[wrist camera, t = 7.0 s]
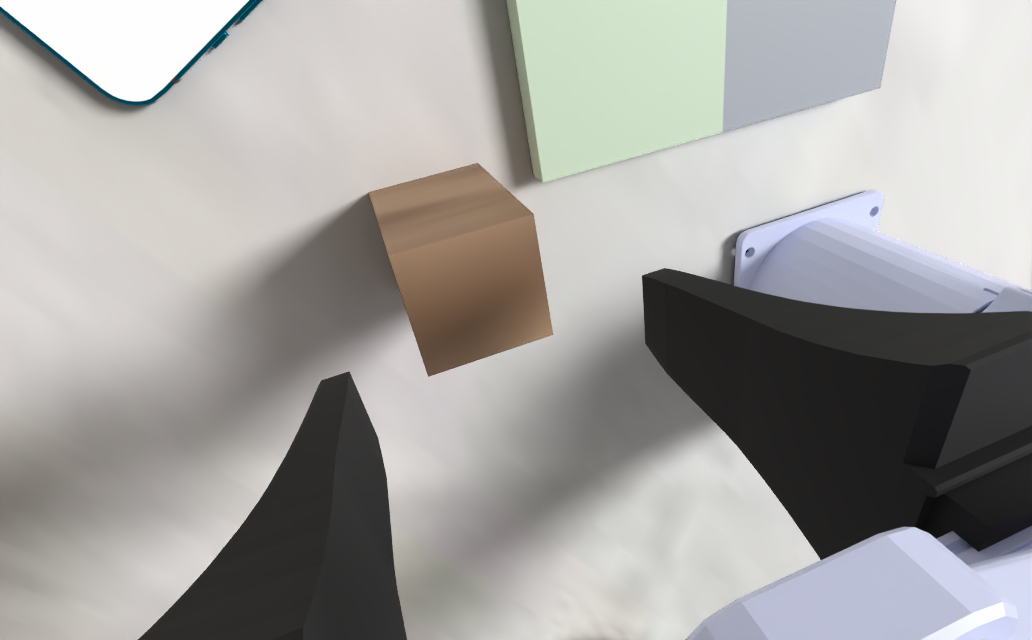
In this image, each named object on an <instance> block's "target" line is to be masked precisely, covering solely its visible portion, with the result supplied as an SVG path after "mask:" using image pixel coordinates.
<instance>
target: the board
mask: <svg viewBox="0 0 1032 640" xmlns="http://www.w3.org/2000/svg"><path fill="white" fill-rule="evenodd" d="M506 2H507V8H508V15H509V21H510V27H511V34H512V40H513V47H514V53H515V59H516V66H517V72H518V79H519V85H520V91H521V98H522V104H523V111H524V117H525V124H526V130H527V136H528V143H529V149H530V156H531V162H532V168H533V175H534V177H536V178H537V179H538V180H540V181H541V182H543V183H544V182H548V181H551V180H555V179H559V178H562V177H566V176H569V175H573V174H576V173H580V172H583V171H587V170H590V169H594V168H598V167H601V166H605V165H608V164H612V163H615V162H619V161H622V160H626V159H630V158H633V157H637V156H640V155H644V154H647V153H651V152H654V151H658V150H662V149H665V148H669V147H672V146H676V145H679V144H683V143H686V142H690V141H694V140H697V139H701V138H704V137H708V136H711V135H715V134H718V133H722V132H726V131H729V130H733V129H736V128H740V127H743V126H747V125H750V124H754V123H758V122H761V121H765V120H768V119H772V118H775V117H779V116H782V115H786V114H790V113H793V112H797V111H800V110H804V109H807V108H811V107H814V106H818V105H822V104H825V103H829V102H832V101H836V100H839V99H843V98H846V97H850V96H854V95H857V94H861V93H864V92H868V91H871V90H875V89H878V88H880V86H881V81H882V75H883V70H884V64H885V59H886V53H887V48H888V43H889V37H890V32H891V26H892V21H893V15H894V10H895V4H896V0H506Z"/></svg>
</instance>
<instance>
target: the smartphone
mask: <svg viewBox="0 0 1032 640" xmlns="http://www.w3.org/2000/svg"><path fill="white" fill-rule="evenodd" d="M263 1H264V0H0V12H1V13H2V14H3V15H5V16H6V17H7V18H8V19H10V20H11V21H12V22H13V23H15V24H16V25H17V26H18V27H20V28H21V29H22V30H23V31H25V32H26V33H27V34H28V35H30V36H31V37H32V38H33V39H35V40H36V41H37V42H38V43H40V44H41V45H42V46H43V47H45V48H46V49H47V50H48V51H50V52H51V53H52V54H53V55H54V56H56V57H57V58H58V59H59V60H61V61H62V62H63V63H64V64H66V65H67V66H68V67H69V68H71V69H72V70H73V71H74V72H76V73H77V74H78V75H79V76H81V77H82V78H83V79H84V80H86V81H87V82H88V83H89V84H91V85H92V86H93V87H94V88H96V89H97V90H98V91H99V92H101V93H102V94H104V95H105V96H107V97H108V98H110V99H112V100H114V101H116V102H119V103H122V104H126V105H133V106H142V105H148V104H151V103H154V102H156V101H158V100H159V99H161V98H162V97H163V96H164V95H165V94H167V93H168V92H169V91H170V90H171V89H172V88H173V87H174V86H175V85H176V84H177V83H178V82H179V81H180V80H181V79H182V78H183V77H184V76H185V75H186V74H187V73H188V72H189V71H190V70H191V69H192V68H193V67H194V66H195V65H196V64H197V63H198V62H199V61H200V60H201V59H202V58H203V57H204V56H205V55H206V54H207V53H208V52H209V50H210V49H211V48H212V47H213V48H214V49H216V48H217V47H218V46H219V45H220V44H221V43H222V42H223V41H224V40H225V39H226V38H227V37H228V36H229V35H228V34H227V32H228V31H229V30H230V29H231V28H232V27H233V26H234V25H235V24H236V23H237V22H238V21H239V20H240V21H241V22H243V21H244V20H245V19H246V18H247V17H248V16H249V15H250V14H251V13H252V12H253V11H254V10H255V9H256V8H257V7H258V6H259V5H260V4H261V3H262V2H263Z"/></svg>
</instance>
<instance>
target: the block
mask: <svg viewBox="0 0 1032 640" xmlns="http://www.w3.org/2000/svg"><path fill="white" fill-rule="evenodd" d="M369 194H370V198H371V201H372V204H373V208H374V211H375V214H376V217H377V221H378V224H379V227H380V230H381V234H382V237H383V240H384V244H385V247H386V250H387V253H388V257H389V260H390V263H391V266H392V269H393V272H394V275H395V278H396V281H397V284H398V287H399V290H400V293H401V296H402V299H403V302H404V305H405V308H406V311H407V314H408V317H409V320H410V323H411V326H412V329H413V332H414V335H415V338H416V341H417V344H418V347H419V350H420V353H421V356H422V359H423V362H424V365H425V368H426V371H427V374H428V377H429V376H432V375H435V374H438V373H441V372H444V371H447V370H450V369H453V368H456V367H458V366H461V365H464V364H467V363H470V362H473V361H476V360H479V359H482V358H485V357H488V356H491V355H494V354H497V353H500V352H503V351H506V350H509V349H512V348H515V347H518V346H521V345H524V344H527V343H530V342H533V341H536V340H539V339H542V338H545V337H548V336H551V335H553V331H552V325H551V319H550V313H549V307H548V300H547V294H546V288H545V282H544V276H543V270H542V263H541V257H540V251H539V245H538V239H537V233H536V226H535V220H534V214H533V213H532V212H531V211H530V210H529V209H527V208H526V207H525V206H524V205H523V204H522V203H521V202H520V201H519V200H518V199H516V198H515V197H514V196H513V195H512V194H511V193H510V192H509V191H508V190H507V189H506V188H504V187H503V186H502V185H501V184H500V183H499V182H498V181H497V180H496V179H495V178H493V177H492V176H491V175H490V174H489V173H488V172H487V171H486V170H485V169H484V168H482V167H481V166H480V165H479V164H478V163H476V164H472V165H469V166H465V167H461V168H457V169H454V170H450V171H446V172H443V173H439V174H435V175H431V176H428V177H424V178H420V179H416V180H413V181H409V182H405V183H401V184H398V185H394V186H390V187H387V188H383V189H379V190H375V191H372V192H369Z"/></svg>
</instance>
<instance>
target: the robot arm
mask: <svg viewBox="0 0 1032 640" xmlns="http://www.w3.org/2000/svg"><path fill="white" fill-rule="evenodd" d="M883 201H884V194H883V192H881V191H878V190H870V191H866V192H863V193H860V194H857V195H854V196H851V197H848V198H845V199H842V200H839V201H835V202H832V203H829V204H826V205H823V206H820V207H817V208H814V209H811V210H807V211H804V212H801V213H798V214H795V215H792V216H789V217H786V218H783V219H779V220H776V221H773V222H770V223H767V224H764V225H761V226H758V227H755V228H752V229H748V230H746V231H744V232H742V233H741V234H740V235H739V237H738V238H737V242H736V256H735V274H734V286H733V285H730V284H726V283H722V282H718V281H715V280H711V279H708V278H704V277H700V276H696V275H693V274H689V273H685V272H681V271H676V270H671V269H666V268H664V269H661V270H658V271H655V272H652V273H649V274H645V275H642V283H643V303H644V323H645V344H646V345H647V346H648V348H649V349H650V351H651V352H652V354H653V355H654V356H655V358H656V359H657V361H658V362H659V363H660V365H661V366H662V367H663V369H664V370H665V371H666V373H667V374H668V375H669V376H670V377H671V378H672V379H673V380H674V381H675V382H676V383H677V384H678V385H679V386H680V387H681V389H682V390H683V391H684V392H685V393H686V394H687V395H688V396H689V397H690V398H691V399H692V400H693V401H694V402H695V403H696V404H697V405H698V406H699V407H700V408H701V409H702V410H703V411H704V412H705V413H706V414H707V415H708V416H709V417H710V418H711V419H712V420H713V421H714V422H715V423H716V424H717V425H718V426H719V427H720V428H721V429H722V430H723V431H724V432H725V433H726V434H727V435H728V436H729V438H730V439H731V440H732V441H733V442H734V443H735V444H736V445H737V446H738V448H739V449H740V450H741V451H742V453H743V454H744V455H745V456H746V458H747V459H748V460H749V461H750V463H751V464H752V465H753V466H754V468H755V469H756V470H757V472H758V473H759V474H760V475H761V477H762V478H763V479H764V480H765V482H766V483H767V485H768V486H769V487H770V489H771V490H772V491H773V493H774V494H775V495H776V497H777V498H778V499H779V501H780V502H781V503H782V505H783V506H784V507H785V509H786V510H787V511H788V513H789V514H790V516H791V517H792V519H793V520H794V521H795V523H796V524H797V526H798V527H799V529H800V530H801V532H802V533H803V534H804V536H805V537H806V539H807V540H808V542H809V543H810V544H811V546H812V547H813V549H814V550H815V552H816V553H817V555H818V556H819V558H820V559H821V561H819V562H816V563H814V564H812V565H810V566H808V567H806V568H804V569H801V570H799V571H797V572H795V573H793V574H791V575H789V576H786V577H784V578H782V579H780V580H778V581H776V582H773V583H771V584H769V585H767V586H765V587H763V588H761V589H758V590H756V591H754V592H752V593H750V594H748V595H746V596H743V597H741V598H739V599H737V600H735V601H734V602H732V603H730V604H729V605H727V606H726V607H724V608H722V609H721V610H719V611H718V612H716V613H714V614H713V615H711V616H710V617H708V618H706V619H705V620H704V621H703V622H702V623H701V624H700V625H699V626H698V627H697V628H696V629H695V630H694V631H693V632H692V633H691V634H690V635H689V636H688V638H687V639H686V640H1032V290H1030V289H1027V288H1024V287H1022V286H1019V285H1017V284H1014V283H1011V282H1009V281H1006V280H1004V279H1001V278H998V277H996V276H993V275H991V274H988V273H985V272H983V271H980V270H977V269H975V268H972V267H970V266H967V265H964V264H962V263H959V262H957V261H954V260H951V259H949V258H946V257H944V256H941V255H938V254H936V253H933V252H930V251H928V250H925V249H923V248H920V247H917V246H915V245H912V244H910V243H907V242H904V241H902V240H899V239H897V238H894V237H891V236H889V235H886V234H884V233H881V232H878V231H877V230H878V225H879V220H880V215H881V211H882V206H883ZM747 249H749V250H748V252H747V253H746V254H745V252H746V251H747ZM138 640H407V637H406V632H405V627H404V622H403V617H402V612H401V606H400V601H399V596H398V591H397V585H396V577H395V570H394V560H393V548H392V536H391V524H390V511H389V500H388V489H387V478H386V472H385V468H384V463H383V458H382V454H381V449H380V445H379V440H378V437H377V435H376V432H375V430H374V428H373V425H372V423H371V421H370V418H369V416H368V414H367V411H366V409H365V407H364V404H363V402H362V400H361V397H360V395H359V393H358V391H357V388H356V386H355V384H354V381H353V379H352V377H351V374H350V372H346V373H343V374H340V375H337V376H334V377H331V378H328V379H325V380H322V381H321V383H320V384H319V386H318V388H317V390H316V393H315V395H314V397H313V400H312V402H311V404H310V407H309V409H308V411H307V413H306V416H305V418H304V420H303V422H302V424H301V426H300V428H299V430H298V432H297V435H296V437H295V439H294V441H293V443H292V445H291V447H290V449H289V451H288V452H287V454H286V456H285V458H284V460H283V461H282V463H281V465H280V467H279V469H278V470H277V472H276V474H275V476H274V477H273V479H272V481H271V483H270V484H269V486H268V488H267V489H266V491H265V492H264V494H263V496H262V497H261V499H260V500H259V502H258V503H257V504H256V506H255V507H254V509H253V510H252V512H251V513H250V514H249V516H248V517H247V519H246V520H245V521H244V523H243V524H242V525H241V527H240V528H239V529H238V531H237V532H236V533H235V534H234V536H233V537H232V538H231V539H230V540H229V542H228V543H227V544H226V545H225V547H224V548H223V549H222V550H221V552H220V553H219V554H218V555H217V557H216V558H215V559H214V560H213V561H212V563H211V564H210V565H209V566H208V568H207V569H206V570H205V571H204V572H203V573H202V574H201V575H200V577H199V578H198V579H197V580H196V581H195V582H194V583H193V584H192V585H191V587H190V588H189V589H188V590H187V591H186V592H185V593H184V594H183V595H182V596H181V597H180V598H179V599H178V600H177V601H176V602H175V604H174V605H173V606H172V607H171V608H170V609H169V610H168V611H167V612H166V613H165V614H164V615H163V616H162V617H161V618H160V619H159V620H158V621H157V622H156V623H155V624H154V625H153V626H152V627H151V628H150V629H149V630H148V631H147V632H146V633H145V634H144V635H143V636H141V637H140V638H139V639H138Z"/></svg>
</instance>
